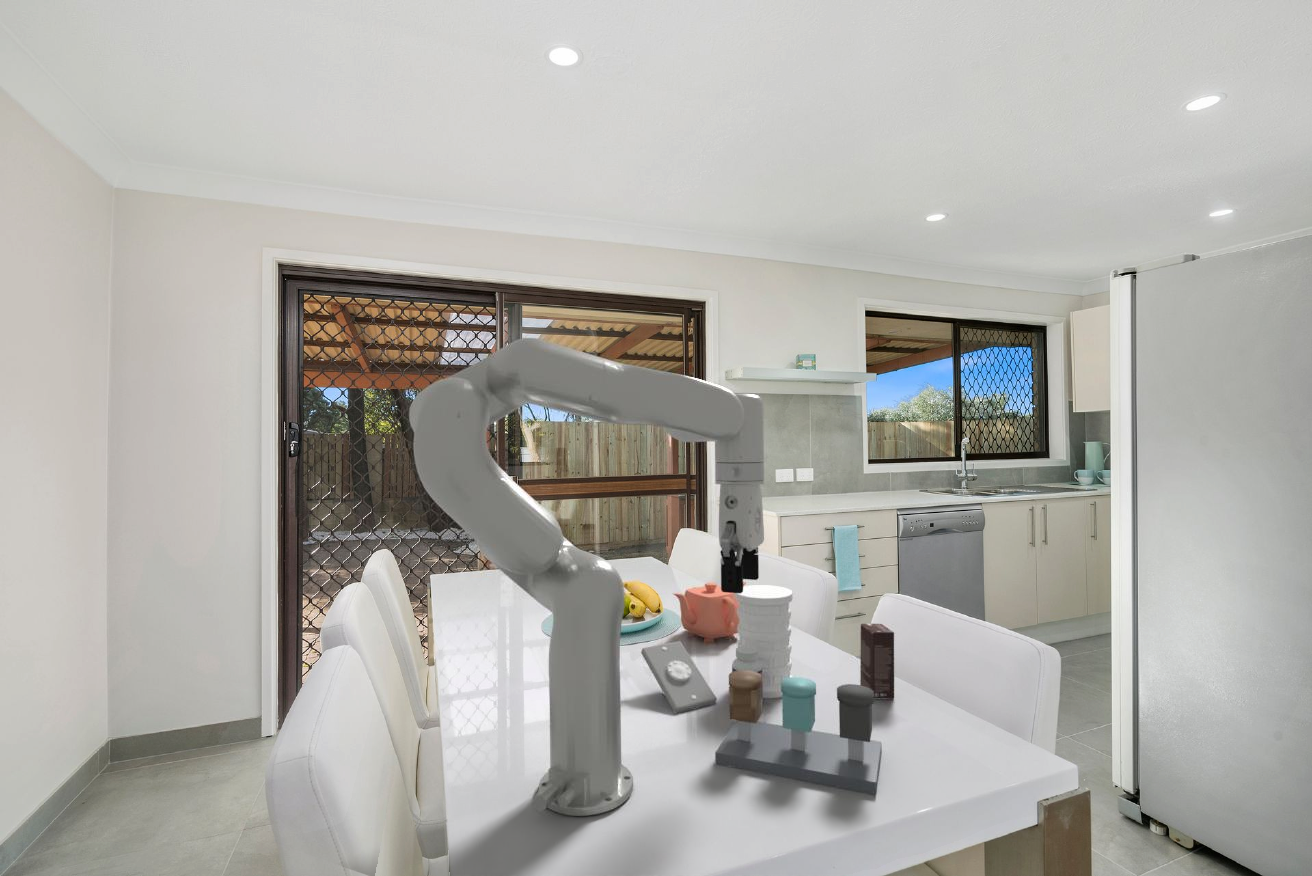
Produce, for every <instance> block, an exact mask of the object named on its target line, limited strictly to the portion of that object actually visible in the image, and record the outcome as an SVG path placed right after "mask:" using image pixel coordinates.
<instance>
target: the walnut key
mask: <svg viewBox="0 0 1312 876" xmlns="http://www.w3.org/2000/svg"><path fill="white" fill-rule="evenodd" d="M728 685H729V686H728V701H729V702H728V706H729V707H728V713H729V715H728V716H729V720H733V721H736V720H737V721H744V722H750V723H756V722H758V720H759V718H760V717H761V715H762V713H763V702H762V676H761V674H759V673H757V672H754V671H748V670H739V671H734V672H732V671H731V672H730V673H728Z"/></svg>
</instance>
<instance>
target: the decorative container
mask: <svg viewBox="0 0 1312 876" xmlns="http://www.w3.org/2000/svg"><path fill="white" fill-rule="evenodd" d="M793 593H794V592H793V590H791V589H789V588H787V587H783V586H778V585H770V584H767V585H766V584H755V585H754V584H753V585H744V586H743V592H742V593H735V599H736V600H738V601H739V607H738V609H737V615H738V618H739V624H738V627H737V631H738V633H737V634H738V637H739V638H738V641H737V645H736V646H737V648H738V647H741V646H751V647H755V648H757V649H758V653H759V657H758V660H759V661H760V662H761V663H762V668H763V669H762V674H763V675H762V677H763V699H779V698H782V694H783V693H782V692H781V681H782V680H783V679H785V678H789V677H794V676H793V675H792V674H791V670H792V666H793V664H792V659H791V657H790V655H791V652H792V650H793V648H792V644H791V641H790V637H791V634H792V627H791V625H790V619H791V615H792V611H791V609H790V603H791V602H792V601H793V598H794V597H793Z"/></svg>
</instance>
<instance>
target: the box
mask: <svg viewBox="0 0 1312 876" xmlns="http://www.w3.org/2000/svg"><path fill="white" fill-rule="evenodd" d="M859 662H860V667H859V668H860V676H859V677H860V682H859V683H860V684H859V685H861V686H865V687H868V688H870V689H871V690H873V692H874V701H875V700H891V699H895V632H894V631H893V630H891V629H890V628H888V627H887V626H885V625H884V624H882V623H861V624H860V661H859Z"/></svg>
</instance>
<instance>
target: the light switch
mask: <svg viewBox="0 0 1312 876" xmlns="http://www.w3.org/2000/svg"><path fill="white" fill-rule="evenodd" d="M640 651H641V652H640V654H641V655H642V657H643V659H644V661H645V662H646V664H647V666H648V667H649V670H650V672H651V673H652V675H653V677H654V678H655V680H656V682H657V684H658V685H659V687H660V689H661V691H662V692H663V695H664V696H665V698H666V700H667V701H668V703H669V705H670V706H671V710H673V712H674V713H675V714H678V713H682V712H686V710H687V711H690V710H693V709H698V708H701V707H705V706H710V705H714V704H716V702H717V700H718V699H717V697H716V695H715V694H714V691H713V690H712V688H711V686H710V685H709V684H708V683H707V681H706V679H705V677H704V676H703V674H702V673H701V672H700V670H699V668H698V666H697V665H696V664H695V662H694V661H693V659H692V658H691V655H690V654H689V653H688V652H687V650H686V648H685V647H684V645H683V644H682V642H681V641H680V640H679V641H674V642H669V643H663V644H662V643H661V644H658V645H651V646H647V647H643V648H641V650H640Z"/></svg>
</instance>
